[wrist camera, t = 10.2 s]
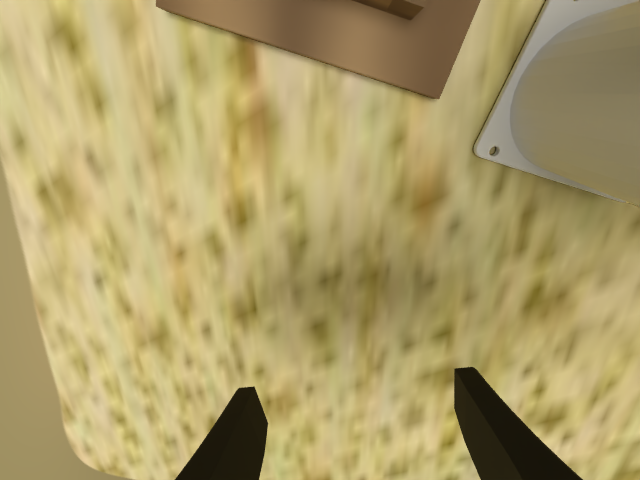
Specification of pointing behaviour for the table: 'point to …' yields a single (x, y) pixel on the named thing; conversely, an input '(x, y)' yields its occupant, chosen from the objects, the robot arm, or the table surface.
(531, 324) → the table surface
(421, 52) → the brown piece
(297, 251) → the table surface
